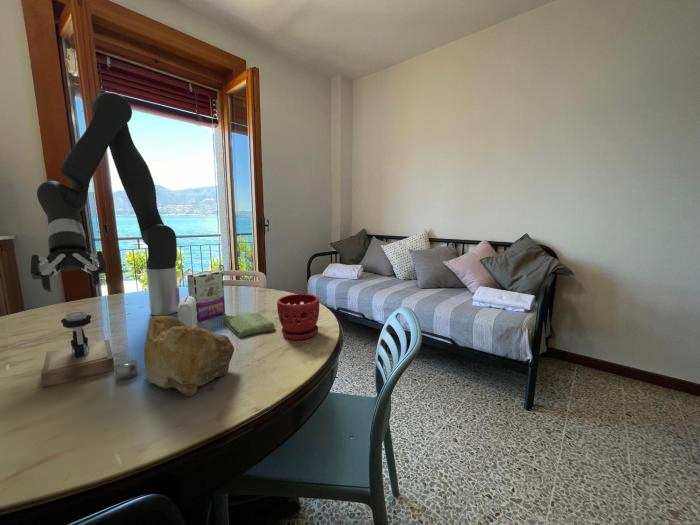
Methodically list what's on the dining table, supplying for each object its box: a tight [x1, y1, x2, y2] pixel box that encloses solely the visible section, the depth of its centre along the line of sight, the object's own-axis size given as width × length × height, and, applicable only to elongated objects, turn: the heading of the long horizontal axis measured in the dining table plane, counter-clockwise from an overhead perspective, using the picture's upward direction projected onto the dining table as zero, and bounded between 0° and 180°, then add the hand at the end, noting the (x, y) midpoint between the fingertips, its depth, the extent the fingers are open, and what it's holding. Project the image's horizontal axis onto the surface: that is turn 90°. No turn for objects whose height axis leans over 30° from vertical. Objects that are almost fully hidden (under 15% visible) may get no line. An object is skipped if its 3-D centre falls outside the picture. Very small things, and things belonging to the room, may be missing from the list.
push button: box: [60, 311, 92, 358], centre depth 72 cm, size 7×5×10 cm
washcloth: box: [223, 311, 275, 338], centre depth 101 cm, size 13×18×3 cm
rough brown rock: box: [143, 315, 235, 397], centre depth 68 cm, size 23×17×15 cm
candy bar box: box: [186, 270, 226, 323], centre depth 109 cm, size 11×5×16 cm, turn 148°
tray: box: [41, 339, 115, 389], centre depth 73 cm, size 12×14×3 cm
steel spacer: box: [114, 359, 139, 381], centre depth 69 cm, size 4×4×3 cm
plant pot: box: [276, 293, 320, 341], centre depth 94 cm, size 13×13×12 cm
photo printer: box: [177, 295, 199, 328], centre depth 91 cm, size 10×4×12 cm, turn 20°
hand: (72, 287), depth 75 cm, fingers open, 8 cm apart
